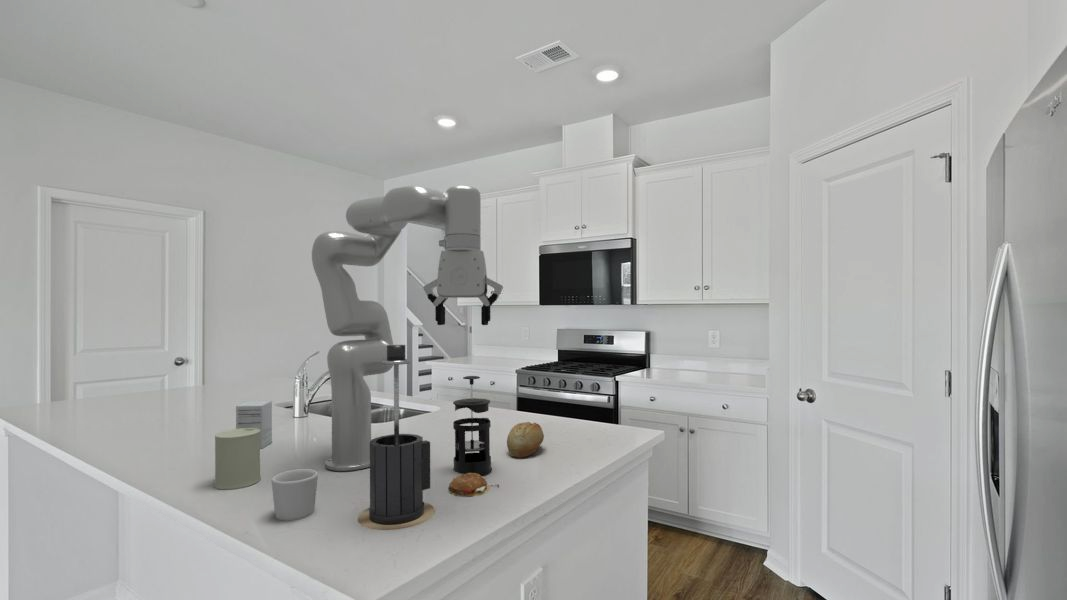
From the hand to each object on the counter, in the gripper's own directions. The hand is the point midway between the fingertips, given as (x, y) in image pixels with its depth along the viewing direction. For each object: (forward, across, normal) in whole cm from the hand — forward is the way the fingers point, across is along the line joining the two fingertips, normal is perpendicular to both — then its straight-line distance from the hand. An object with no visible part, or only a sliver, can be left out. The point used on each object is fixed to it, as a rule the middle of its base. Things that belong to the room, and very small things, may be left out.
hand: (462, 324), depth 108 cm
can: (+37, -54, +1) cm, 65 cm away
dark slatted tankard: (+35, -9, -14) cm, 39 cm away
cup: (+36, -28, -15) cm, 48 cm away
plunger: (+25, -9, -14) cm, 30 cm away
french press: (+36, -2, +15) cm, 39 cm away
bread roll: (+36, +8, +33) cm, 50 cm away
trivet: (+36, -9, -14) cm, 39 cm away
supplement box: (+37, -72, +30) cm, 87 cm away
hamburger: (+37, +2, +2) cm, 37 cm away
